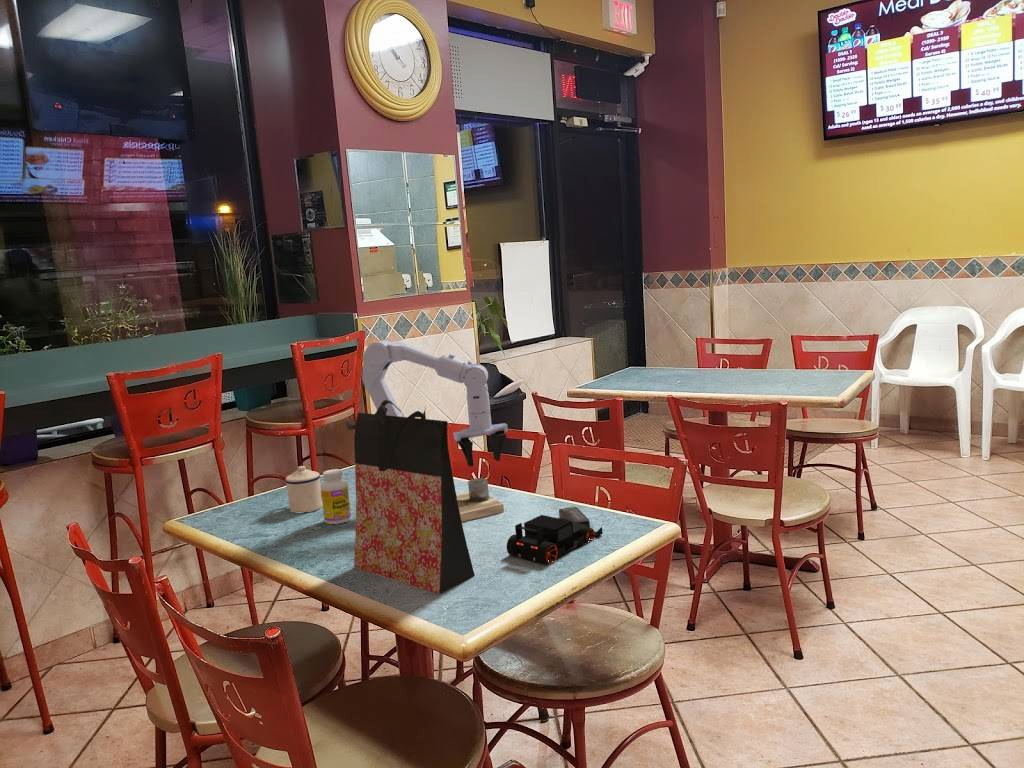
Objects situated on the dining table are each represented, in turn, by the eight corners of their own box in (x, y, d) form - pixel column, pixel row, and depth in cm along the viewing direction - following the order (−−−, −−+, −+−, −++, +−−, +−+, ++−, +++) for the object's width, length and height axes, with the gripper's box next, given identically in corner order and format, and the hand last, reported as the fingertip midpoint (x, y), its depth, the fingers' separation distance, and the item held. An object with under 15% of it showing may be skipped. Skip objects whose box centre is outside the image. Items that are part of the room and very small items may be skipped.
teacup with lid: (330, 505, 206) (325, 464, 204) (303, 516, 199) (297, 472, 197) (303, 500, 213) (298, 460, 212) (276, 509, 207) (270, 468, 205)
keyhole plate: (424, 508, 196) (423, 501, 196) (477, 496, 203) (476, 489, 203) (448, 525, 182) (447, 517, 182) (504, 511, 189) (503, 503, 188)
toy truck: (603, 537, 167) (601, 505, 166) (545, 568, 152) (542, 533, 151) (565, 528, 174) (563, 498, 173) (506, 558, 159) (503, 525, 158)
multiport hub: (571, 533, 171) (571, 523, 171) (559, 518, 182) (558, 509, 181) (590, 530, 172) (590, 520, 171) (576, 515, 182) (576, 506, 182)
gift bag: (484, 570, 153) (468, 399, 147) (433, 597, 142) (413, 413, 137) (389, 545, 172) (372, 392, 167) (337, 567, 161) (317, 405, 156)
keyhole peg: (467, 506, 196) (464, 480, 195) (485, 502, 198) (483, 477, 197) (474, 511, 191) (472, 485, 190) (492, 507, 193) (490, 481, 192)
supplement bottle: (332, 527, 188) (326, 476, 186) (320, 522, 193) (313, 472, 191) (356, 519, 192) (350, 470, 190) (343, 514, 197) (337, 466, 195)
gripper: (459, 418, 190) (464, 471, 192) (511, 409, 196) (515, 460, 198) (448, 414, 196) (453, 465, 198) (499, 405, 202) (503, 455, 204)
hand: (483, 462), depth 198 cm, fingers open, 7 cm apart
